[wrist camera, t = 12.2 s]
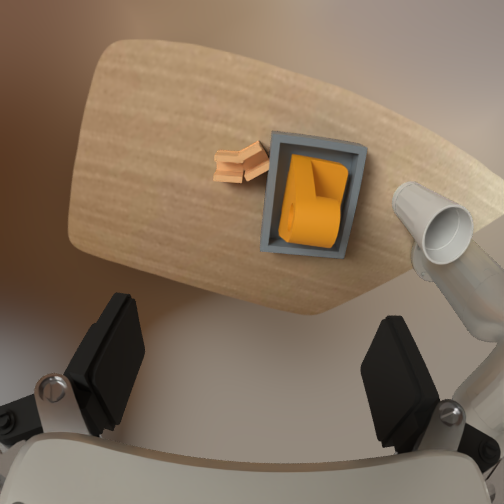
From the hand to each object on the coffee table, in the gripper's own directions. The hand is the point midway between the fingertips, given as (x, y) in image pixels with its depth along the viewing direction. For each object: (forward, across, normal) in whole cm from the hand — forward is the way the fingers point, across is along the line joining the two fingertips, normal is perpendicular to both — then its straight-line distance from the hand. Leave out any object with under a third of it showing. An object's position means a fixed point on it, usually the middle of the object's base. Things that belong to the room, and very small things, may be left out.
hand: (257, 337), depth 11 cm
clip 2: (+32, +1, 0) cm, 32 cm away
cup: (+32, -23, +3) cm, 40 cm away
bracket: (+32, -7, +4) cm, 33 cm away
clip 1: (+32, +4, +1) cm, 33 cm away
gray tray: (+32, -7, +4) cm, 33 cm away
